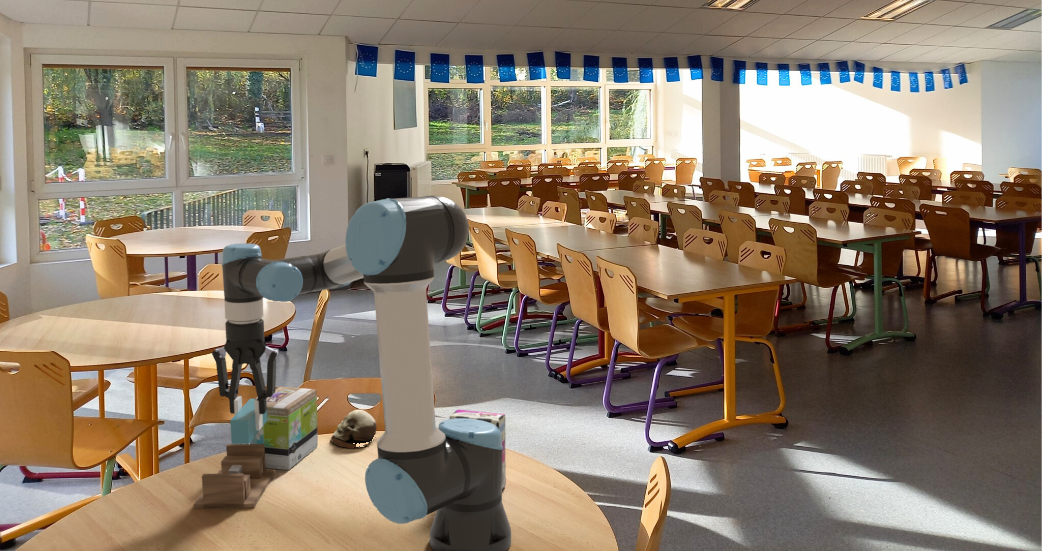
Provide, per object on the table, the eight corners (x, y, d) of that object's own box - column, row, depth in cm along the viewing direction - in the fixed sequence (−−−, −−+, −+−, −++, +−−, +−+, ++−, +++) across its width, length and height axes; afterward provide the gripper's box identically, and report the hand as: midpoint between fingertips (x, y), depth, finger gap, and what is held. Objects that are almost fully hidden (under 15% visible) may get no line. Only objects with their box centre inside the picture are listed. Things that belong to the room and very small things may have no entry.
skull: (319, 443, 205) (331, 404, 210) (336, 459, 213) (348, 420, 219) (365, 447, 202) (376, 407, 207) (380, 463, 210) (391, 424, 215)
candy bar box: (506, 486, 184) (506, 413, 181) (498, 495, 179) (499, 421, 176) (457, 479, 187) (457, 407, 184) (449, 488, 182) (448, 415, 180)
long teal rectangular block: (248, 443, 174) (247, 420, 173) (231, 443, 174) (230, 420, 173) (267, 420, 187) (266, 398, 186) (251, 420, 187) (250, 398, 186)
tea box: (290, 471, 191) (288, 407, 188) (249, 467, 193) (246, 404, 190) (319, 446, 206) (317, 387, 203) (280, 443, 208) (278, 384, 205)
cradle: (254, 508, 173) (252, 475, 171) (193, 508, 172) (191, 475, 171) (275, 473, 189) (273, 443, 188) (220, 474, 189) (218, 444, 188)
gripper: (289, 315, 179) (293, 422, 183) (210, 314, 179) (215, 421, 183) (280, 324, 172) (284, 435, 176) (197, 323, 171) (203, 434, 176)
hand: (249, 427), depth 180 cm, fingers closed on long teal rectangular block, 3 cm apart
